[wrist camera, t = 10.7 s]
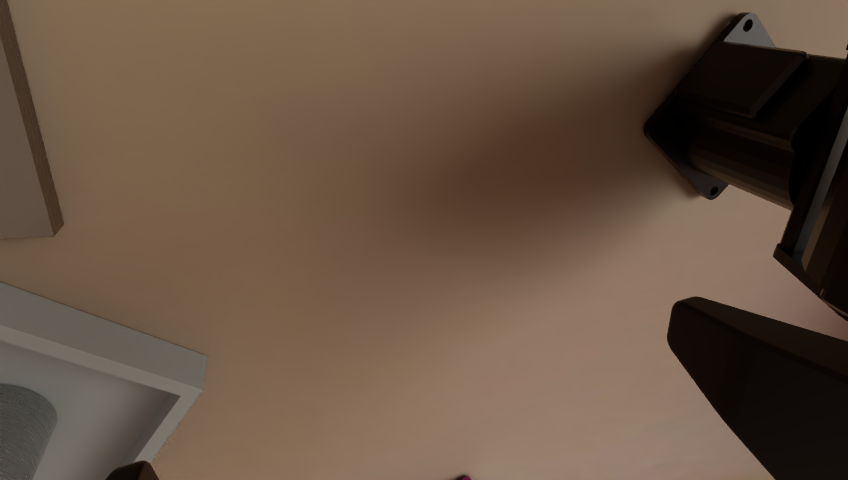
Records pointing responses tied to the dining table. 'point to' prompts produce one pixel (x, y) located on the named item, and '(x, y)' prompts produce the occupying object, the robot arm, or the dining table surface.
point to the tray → (95, 384)
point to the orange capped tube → (23, 431)
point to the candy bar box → (467, 478)
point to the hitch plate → (22, 150)
